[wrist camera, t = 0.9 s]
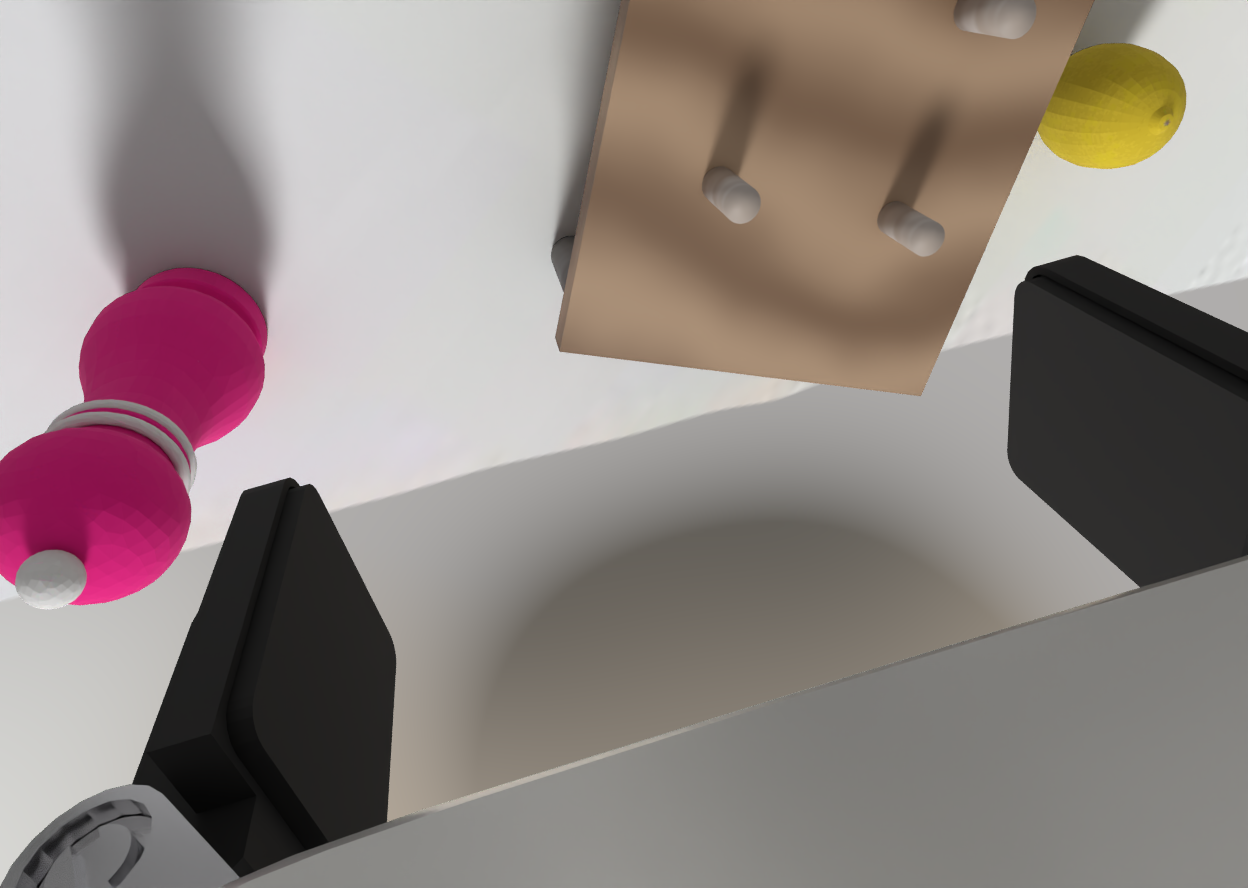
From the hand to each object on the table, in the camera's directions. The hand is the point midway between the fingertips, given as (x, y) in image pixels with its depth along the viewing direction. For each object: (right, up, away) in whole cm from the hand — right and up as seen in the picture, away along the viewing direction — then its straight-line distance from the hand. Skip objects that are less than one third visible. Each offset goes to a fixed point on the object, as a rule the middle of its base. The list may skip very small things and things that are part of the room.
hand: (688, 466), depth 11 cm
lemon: (+22, +19, +33) cm, 43 cm away
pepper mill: (-22, +6, +30) cm, 38 cm away
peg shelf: (+6, +18, +29) cm, 35 cm away
